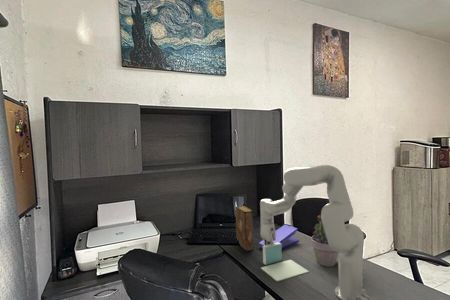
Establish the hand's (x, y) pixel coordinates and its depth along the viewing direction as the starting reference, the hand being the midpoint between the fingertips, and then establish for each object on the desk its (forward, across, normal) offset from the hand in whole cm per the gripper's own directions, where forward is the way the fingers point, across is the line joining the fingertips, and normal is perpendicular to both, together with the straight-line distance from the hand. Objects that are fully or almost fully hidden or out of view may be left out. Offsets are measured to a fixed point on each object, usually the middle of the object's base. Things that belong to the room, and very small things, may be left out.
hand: (267, 251), depth 152 cm
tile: (+4, -5, 0) cm, 6 cm away
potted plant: (+5, -20, -26) cm, 33 cm away
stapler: (+5, +13, -18) cm, 23 cm away
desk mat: (+4, -16, 0) cm, 16 cm away
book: (+5, +23, +3) cm, 24 cm away
